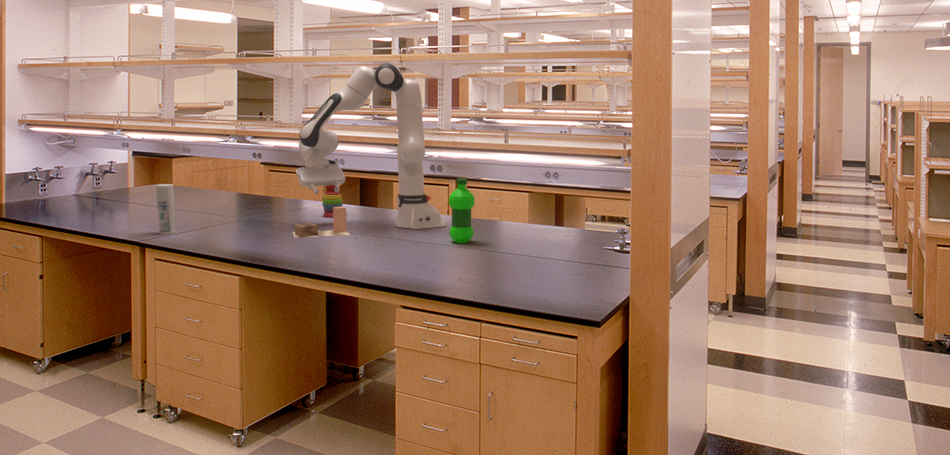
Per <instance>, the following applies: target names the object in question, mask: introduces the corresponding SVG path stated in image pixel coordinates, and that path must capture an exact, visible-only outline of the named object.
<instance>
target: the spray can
mask: <svg viewBox="0 0 950 455" xmlns="http://www.w3.org/2000/svg"><path fill="white" fill-rule="evenodd" d="M155 189H156V202H157V212H158V213H157V214H158V225H159V233H160V234H161V235H172V234H176V233H177V225H176V224H177V222H176V220H177V219H176V206H175V191H174V184H172V183H171V184H170V183H163V184H161V183H160V184H156V186H155Z"/></svg>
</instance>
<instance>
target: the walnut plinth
mask: <svg viewBox="0 0 950 455" xmlns="http://www.w3.org/2000/svg"><path fill="white" fill-rule="evenodd" d="M318 231H319V225H318V224H316V223H313V222H307V223H306V222H305V223H295V224H294V232H295V234H296V235H298V236H301V237H300V238H307V237H306V236H315V235H318Z"/></svg>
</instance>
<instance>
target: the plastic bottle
mask: <svg viewBox="0 0 950 455" xmlns="http://www.w3.org/2000/svg"><path fill="white" fill-rule="evenodd" d="M467 184H468V178H457V179H456V185H457V188H456V189H455V190H454V191H453V192H451V193H450V194H449V196H448V205H449V207H450V208H451V226H450V229H449V238H451V240H452V241H454V243H457V244H466V242H467V243H468V242H470V241H471V240H472V238H473V236H474V228H473V227H472V209H473V207H474V206H475V196H474V194H473V193H472V192H471V191H470V190H469V189H468V188H467V186H466V185H467Z"/></svg>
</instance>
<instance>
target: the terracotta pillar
mask: <svg viewBox="0 0 950 455" xmlns="http://www.w3.org/2000/svg"><path fill="white" fill-rule="evenodd" d="M346 213H347V207H345V206H343V205H342V206H341V207H333V218H332V225H333V230H334V231H335V232H346V231H348V230H347V228H348V227H347V215H346Z"/></svg>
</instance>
